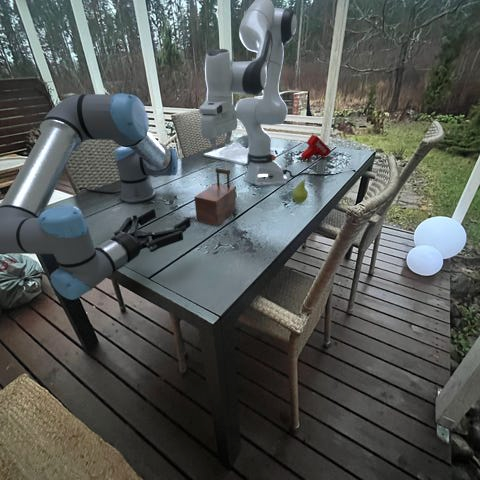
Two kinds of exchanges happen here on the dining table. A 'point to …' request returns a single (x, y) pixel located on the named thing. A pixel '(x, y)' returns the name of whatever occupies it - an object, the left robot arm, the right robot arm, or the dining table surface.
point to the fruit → (300, 192)
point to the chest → (215, 209)
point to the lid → (216, 189)
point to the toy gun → (315, 148)
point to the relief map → (231, 153)
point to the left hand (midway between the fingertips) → (171, 217)
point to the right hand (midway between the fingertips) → (221, 146)
